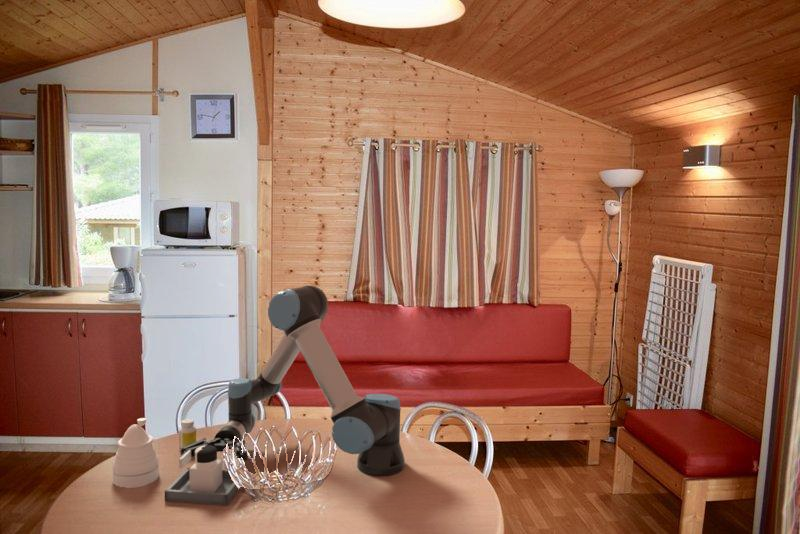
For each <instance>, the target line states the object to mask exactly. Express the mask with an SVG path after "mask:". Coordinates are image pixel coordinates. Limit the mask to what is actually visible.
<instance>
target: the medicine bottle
mask: <svg viewBox="0 0 800 534" xmlns="http://www.w3.org/2000/svg"><path fill="white" fill-rule="evenodd" d="M189 468H190V469H189V474H190V491H200V492H215V491H216V490H217V489H218V487H219V486H220V485H221V484H222V470H223V460H222V459H218V452H217V448H216V447H214V446H211V445H205V446H201V447H199V448H197V449H196V450H195V456H194V464H193V465H192V466H191V467H189Z"/></svg>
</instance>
